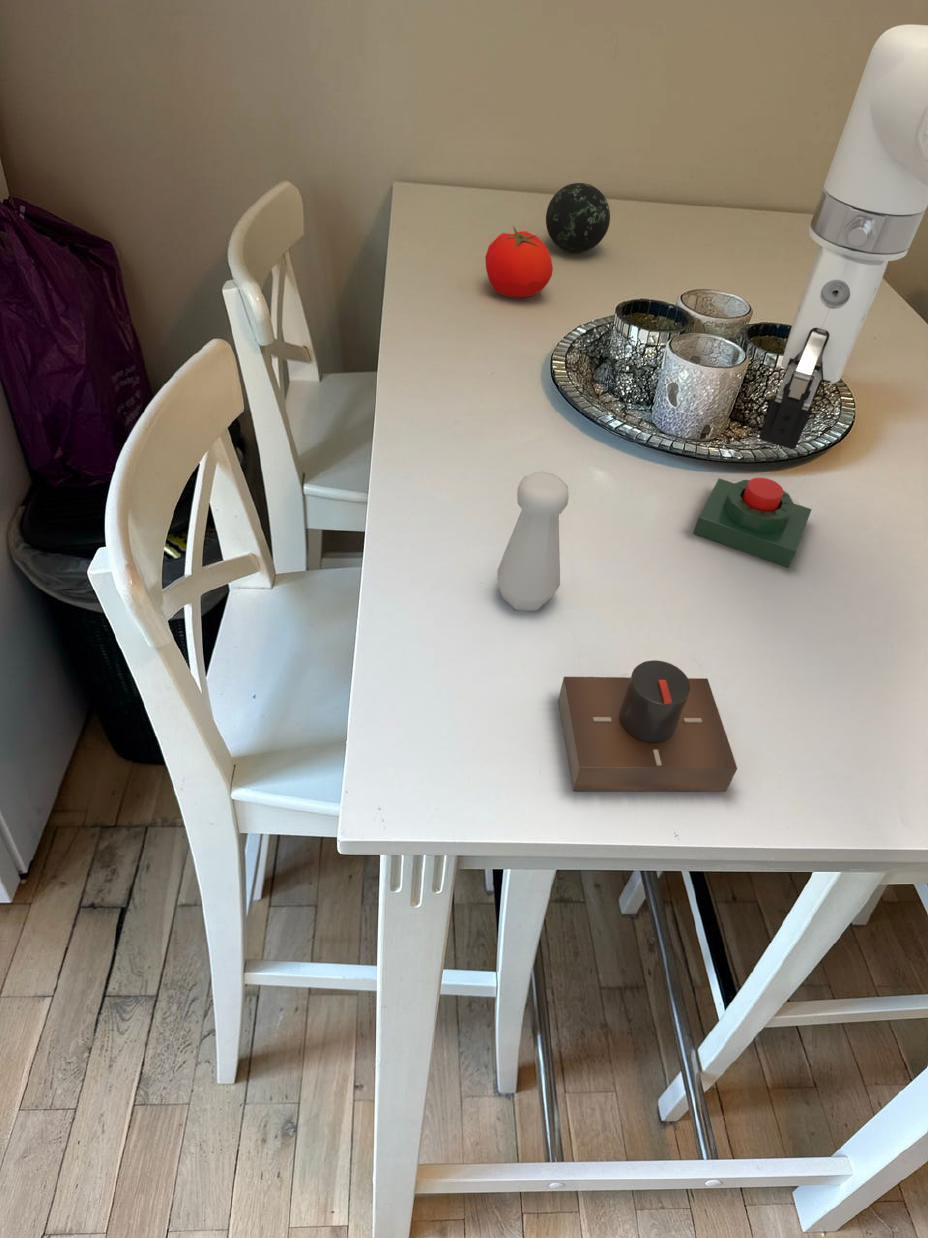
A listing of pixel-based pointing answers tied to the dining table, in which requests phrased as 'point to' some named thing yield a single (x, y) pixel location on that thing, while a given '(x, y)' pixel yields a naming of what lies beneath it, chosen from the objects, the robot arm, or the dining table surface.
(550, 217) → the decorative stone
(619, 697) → the panel
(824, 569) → the dining table surface
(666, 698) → the knob
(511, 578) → the salt shaker
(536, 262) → the tomato
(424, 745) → the dining table surface
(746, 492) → the button
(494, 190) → the dining table surface
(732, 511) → the button box
